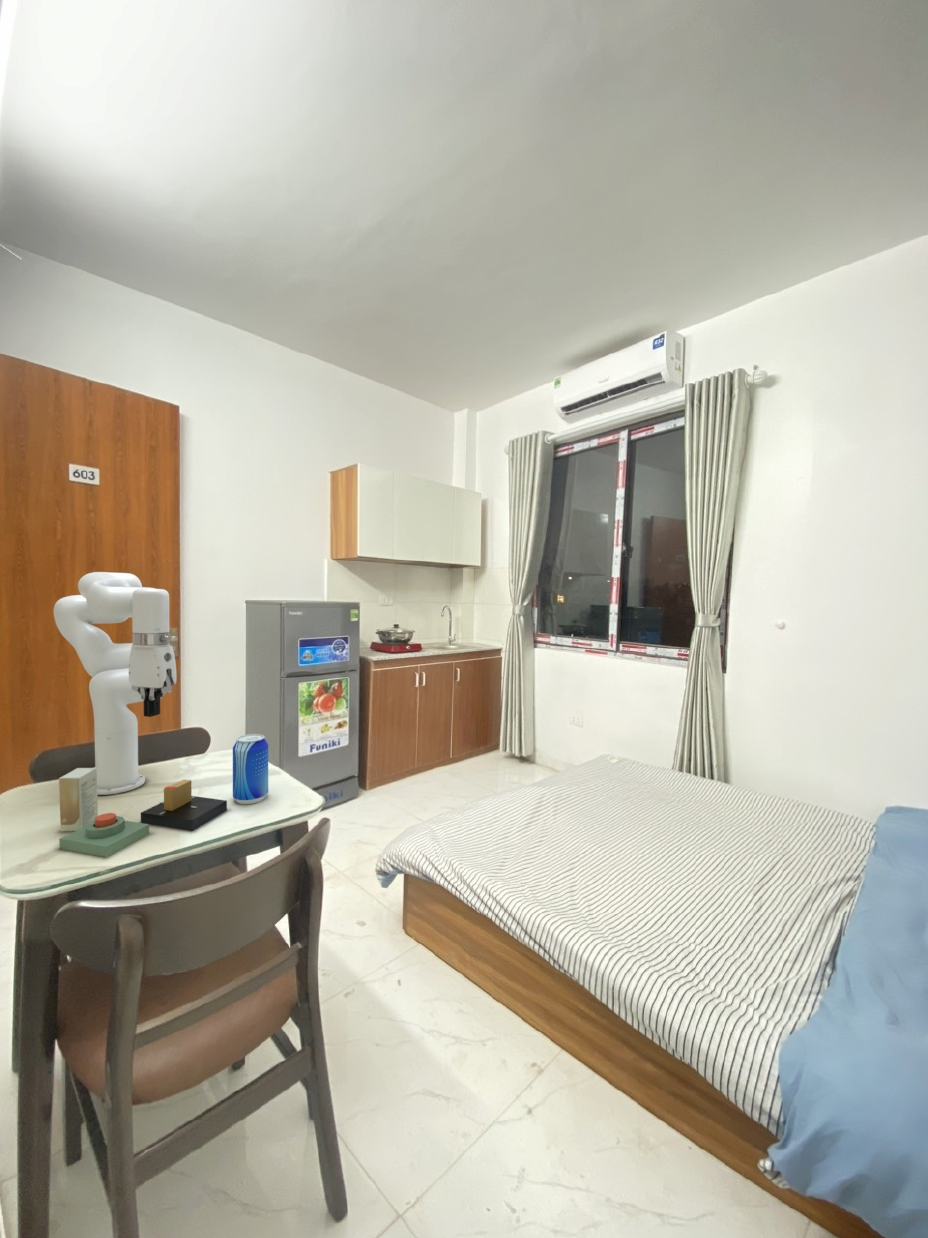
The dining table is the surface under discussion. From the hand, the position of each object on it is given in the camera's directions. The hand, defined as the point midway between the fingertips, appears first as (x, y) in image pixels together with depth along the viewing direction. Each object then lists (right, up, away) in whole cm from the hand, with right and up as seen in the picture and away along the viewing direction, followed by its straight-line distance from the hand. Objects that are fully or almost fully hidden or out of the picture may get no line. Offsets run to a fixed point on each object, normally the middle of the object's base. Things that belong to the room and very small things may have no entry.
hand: (152, 715), depth 120 cm
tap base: (+10, -23, -3) cm, 26 cm away
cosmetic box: (-11, -23, -8) cm, 27 cm away
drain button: (0, -20, -15) cm, 25 cm away
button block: (0, -24, -15) cm, 28 cm away
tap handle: (+8, -21, -3) cm, 22 cm away
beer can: (+21, -23, +8) cm, 32 cm away
